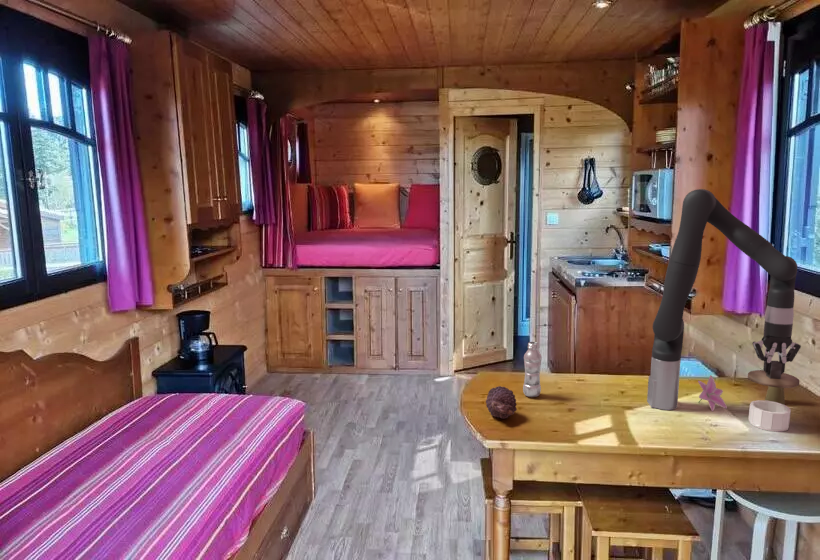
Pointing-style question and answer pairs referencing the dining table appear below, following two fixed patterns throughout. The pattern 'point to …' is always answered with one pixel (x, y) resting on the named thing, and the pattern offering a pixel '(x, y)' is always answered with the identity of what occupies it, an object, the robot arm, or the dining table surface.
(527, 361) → the plastic bottle
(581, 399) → the dining table surface
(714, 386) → the lily
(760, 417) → the ceramic bowl
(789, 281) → the robot arm
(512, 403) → the pine cone
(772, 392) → the cork
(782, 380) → the walnut lid
